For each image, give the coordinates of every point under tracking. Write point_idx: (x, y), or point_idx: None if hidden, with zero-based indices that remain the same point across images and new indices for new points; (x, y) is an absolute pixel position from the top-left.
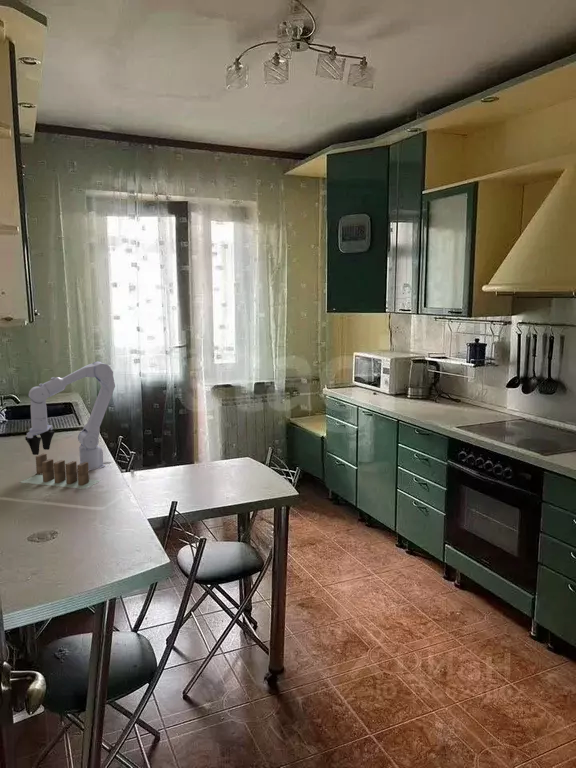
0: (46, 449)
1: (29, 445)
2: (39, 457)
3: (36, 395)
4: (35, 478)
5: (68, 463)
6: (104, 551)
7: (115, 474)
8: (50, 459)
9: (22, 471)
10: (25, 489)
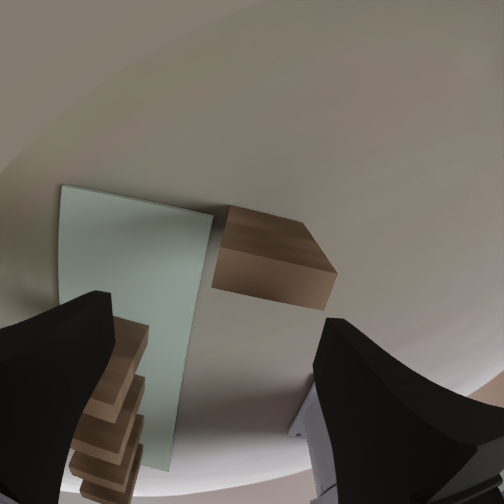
0: (318, 348)
1: (6, 329)
2: (214, 284)
3: None
4: (132, 245)
5: (82, 474)
6: None
7: (264, 478)
8: (106, 411)
9: (326, 70)
10: (20, 254)
